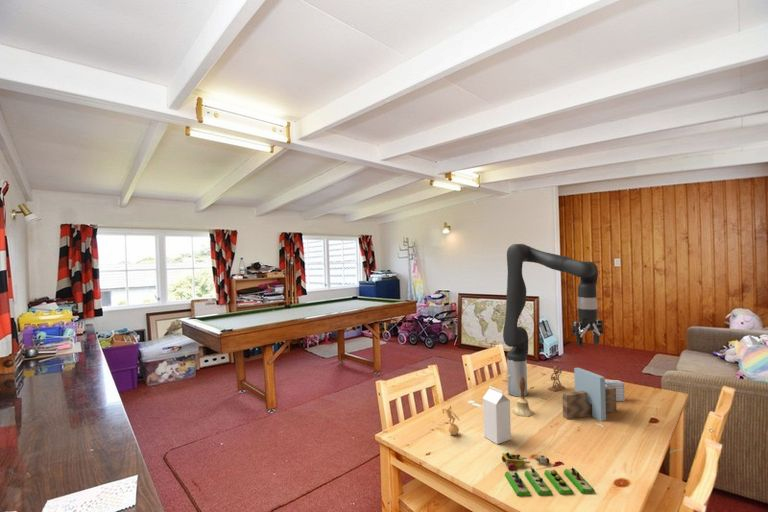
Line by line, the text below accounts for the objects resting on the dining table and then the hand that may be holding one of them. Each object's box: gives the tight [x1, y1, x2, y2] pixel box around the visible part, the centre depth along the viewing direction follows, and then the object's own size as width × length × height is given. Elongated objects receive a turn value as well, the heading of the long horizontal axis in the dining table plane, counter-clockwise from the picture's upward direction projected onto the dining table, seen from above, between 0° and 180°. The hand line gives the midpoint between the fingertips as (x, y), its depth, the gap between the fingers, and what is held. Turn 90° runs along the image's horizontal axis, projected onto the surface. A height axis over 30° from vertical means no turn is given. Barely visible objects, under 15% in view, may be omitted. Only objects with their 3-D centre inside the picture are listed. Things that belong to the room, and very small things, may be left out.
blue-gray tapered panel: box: [573, 367, 607, 422], centre depth 160 cm, size 14×2×18 cm, turn 16°
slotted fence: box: [562, 386, 617, 420], centre depth 160 cm, size 26×2×10 cm, turn 105°
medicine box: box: [605, 379, 625, 402], centre depth 175 cm, size 8×4×9 cm, turn 84°
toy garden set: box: [501, 452, 595, 497], centre depth 117 cm, size 23×19×5 cm
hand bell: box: [512, 376, 534, 417], centre depth 163 cm, size 8×8×16 cm
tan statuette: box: [547, 365, 566, 393], centre depth 190 cm, size 9×4×12 cm, turn 120°
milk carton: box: [482, 385, 512, 445], centre depth 141 cm, size 7×7×19 cm
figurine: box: [441, 404, 460, 436], centre depth 145 cm, size 8×6×12 cm
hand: (588, 344), depth 160 cm, fingers open, 8 cm apart
